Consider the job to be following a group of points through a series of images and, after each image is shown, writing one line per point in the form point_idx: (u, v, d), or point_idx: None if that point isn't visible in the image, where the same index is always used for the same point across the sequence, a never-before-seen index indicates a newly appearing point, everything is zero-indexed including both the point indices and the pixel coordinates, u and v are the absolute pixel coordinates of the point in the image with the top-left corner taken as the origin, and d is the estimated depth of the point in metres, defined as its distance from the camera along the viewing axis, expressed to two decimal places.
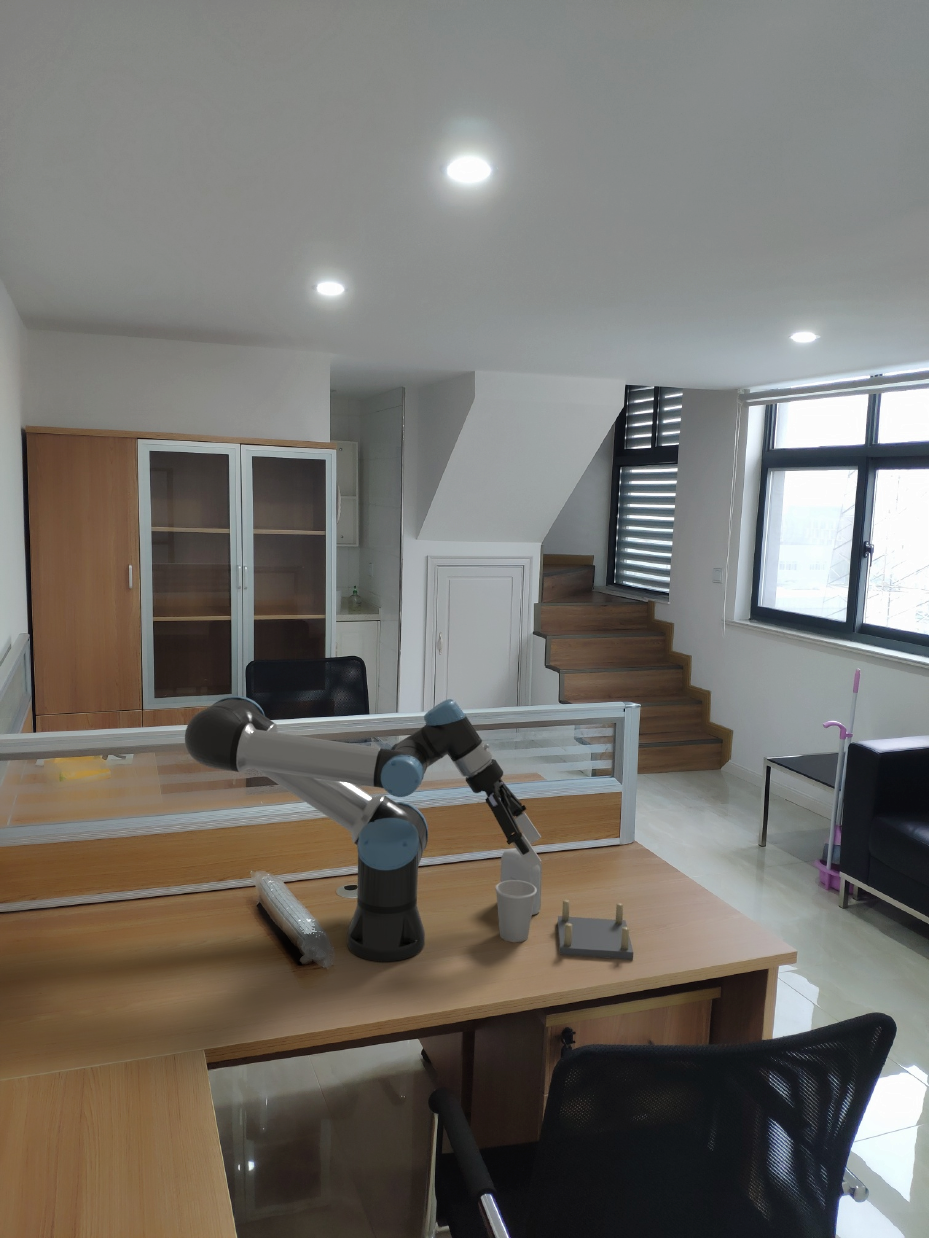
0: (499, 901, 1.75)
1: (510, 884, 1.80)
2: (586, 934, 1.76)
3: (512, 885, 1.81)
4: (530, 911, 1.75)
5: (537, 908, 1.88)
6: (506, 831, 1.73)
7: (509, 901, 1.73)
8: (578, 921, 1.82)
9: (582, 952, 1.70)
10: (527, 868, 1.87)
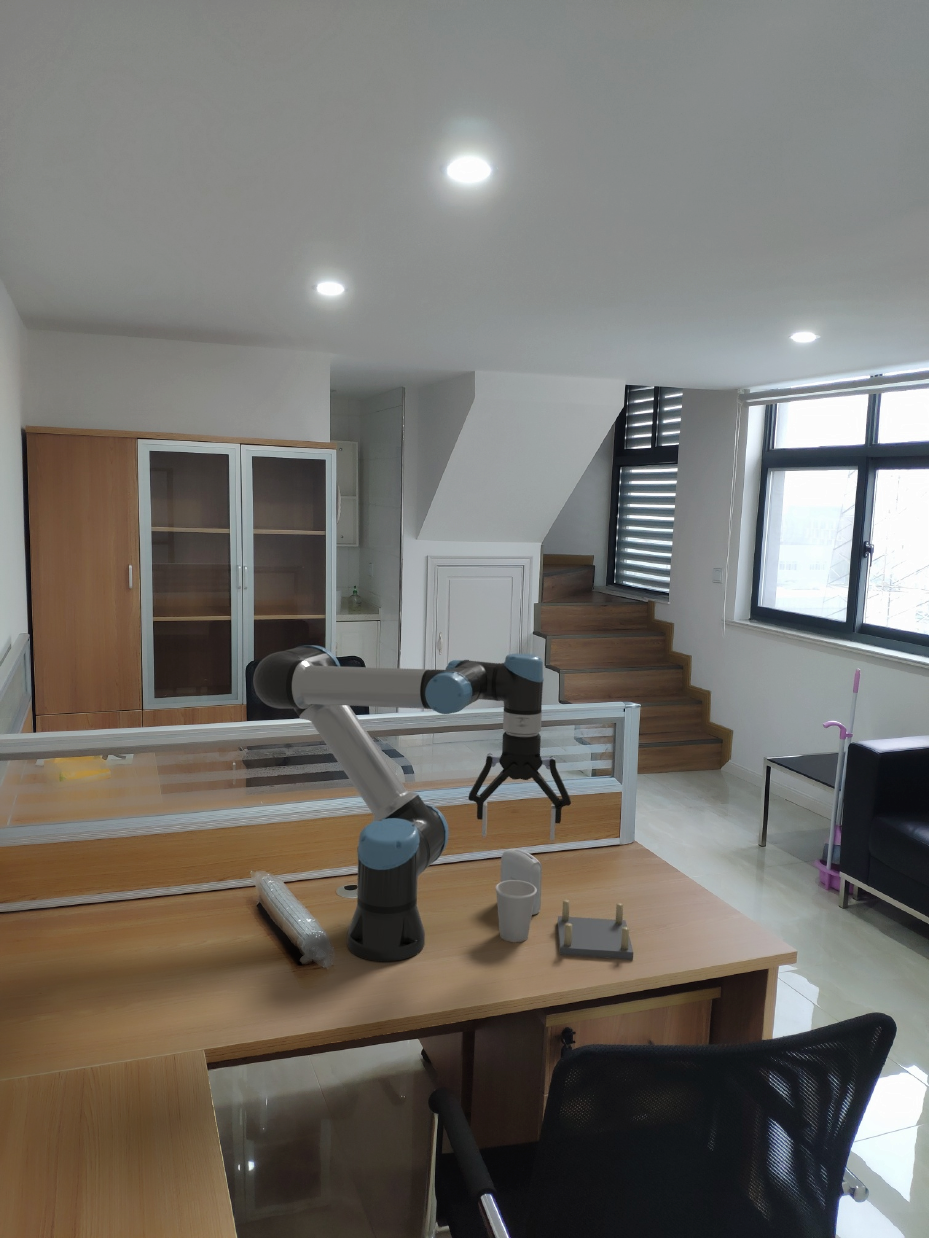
0: (499, 901, 1.75)
1: (510, 884, 1.80)
2: (586, 934, 1.76)
3: (512, 885, 1.81)
4: (530, 911, 1.75)
5: (537, 908, 1.88)
6: (473, 787, 1.76)
7: (509, 901, 1.73)
8: (578, 921, 1.82)
9: (582, 952, 1.70)
10: (527, 868, 1.87)
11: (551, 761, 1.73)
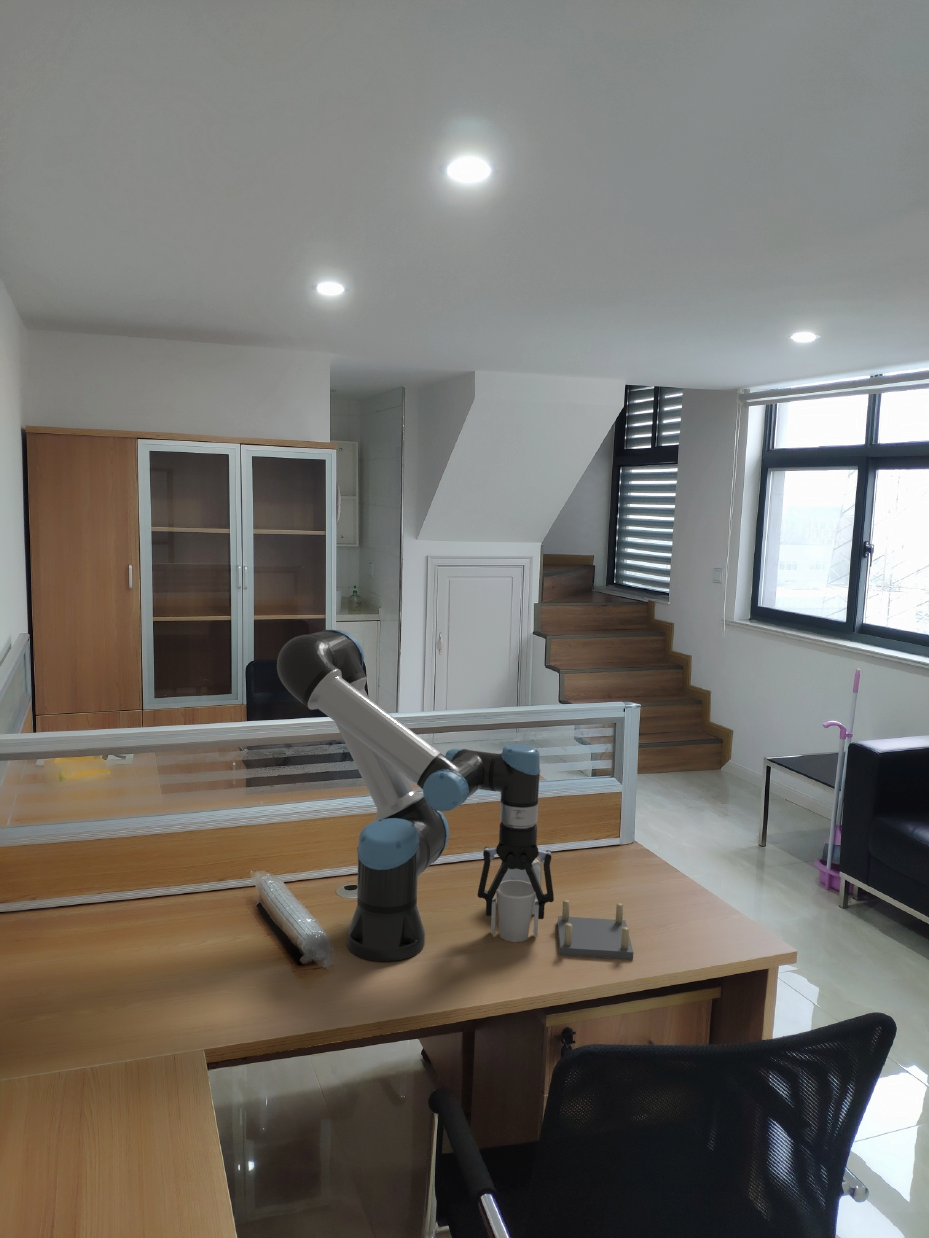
0: (499, 901, 1.75)
1: (510, 884, 1.80)
2: (586, 934, 1.76)
3: (512, 884, 1.81)
4: (530, 911, 1.75)
5: None
6: None
7: (509, 901, 1.73)
8: (578, 921, 1.82)
9: (582, 952, 1.70)
10: None
11: (547, 856, 1.75)
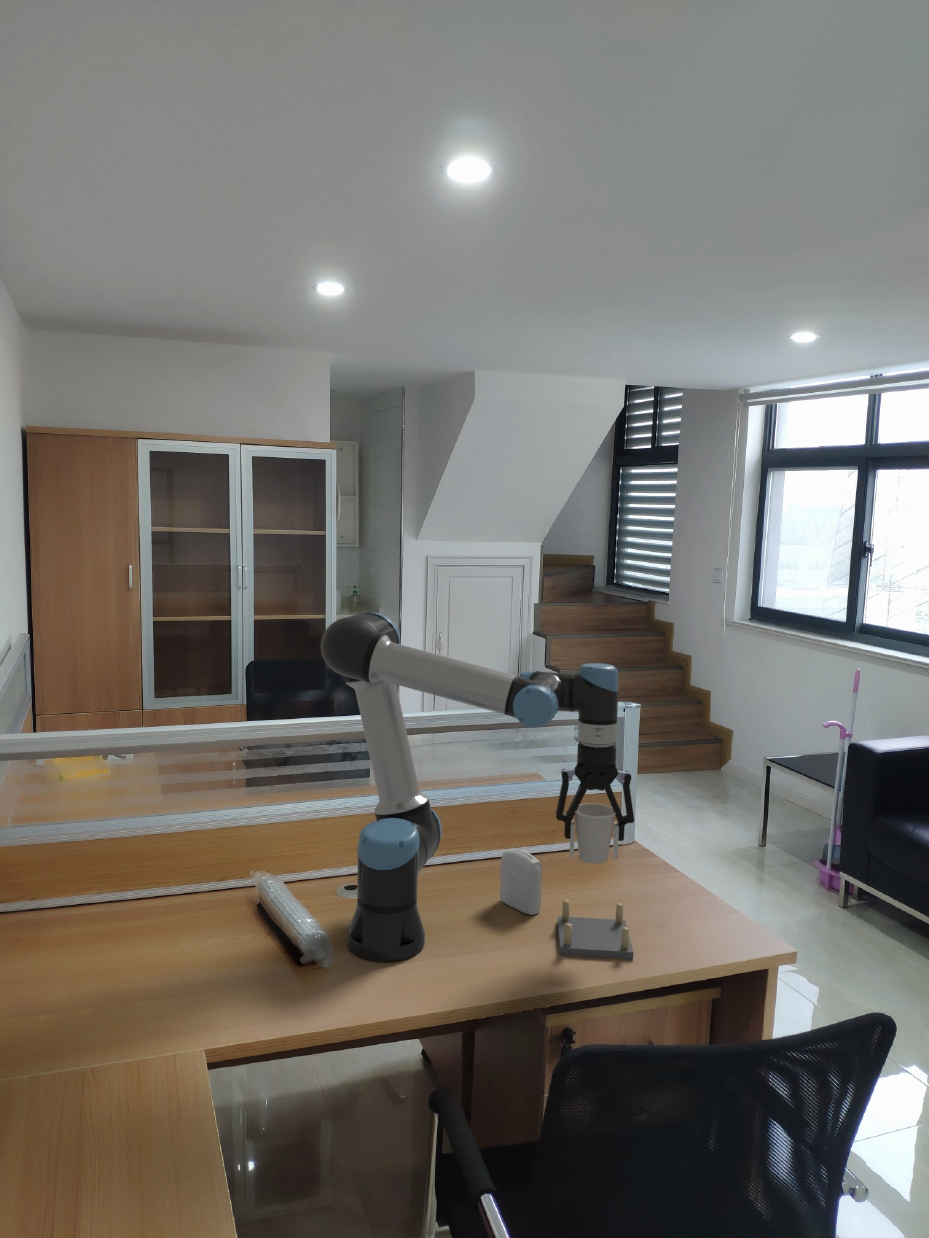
0: (578, 822, 1.72)
1: (587, 807, 1.78)
2: (586, 934, 1.76)
3: (589, 808, 1.78)
4: (610, 832, 1.72)
5: (537, 908, 1.88)
6: (557, 806, 1.75)
7: (589, 821, 1.71)
8: (578, 921, 1.82)
9: (582, 952, 1.70)
10: (527, 868, 1.87)
11: (627, 776, 1.72)
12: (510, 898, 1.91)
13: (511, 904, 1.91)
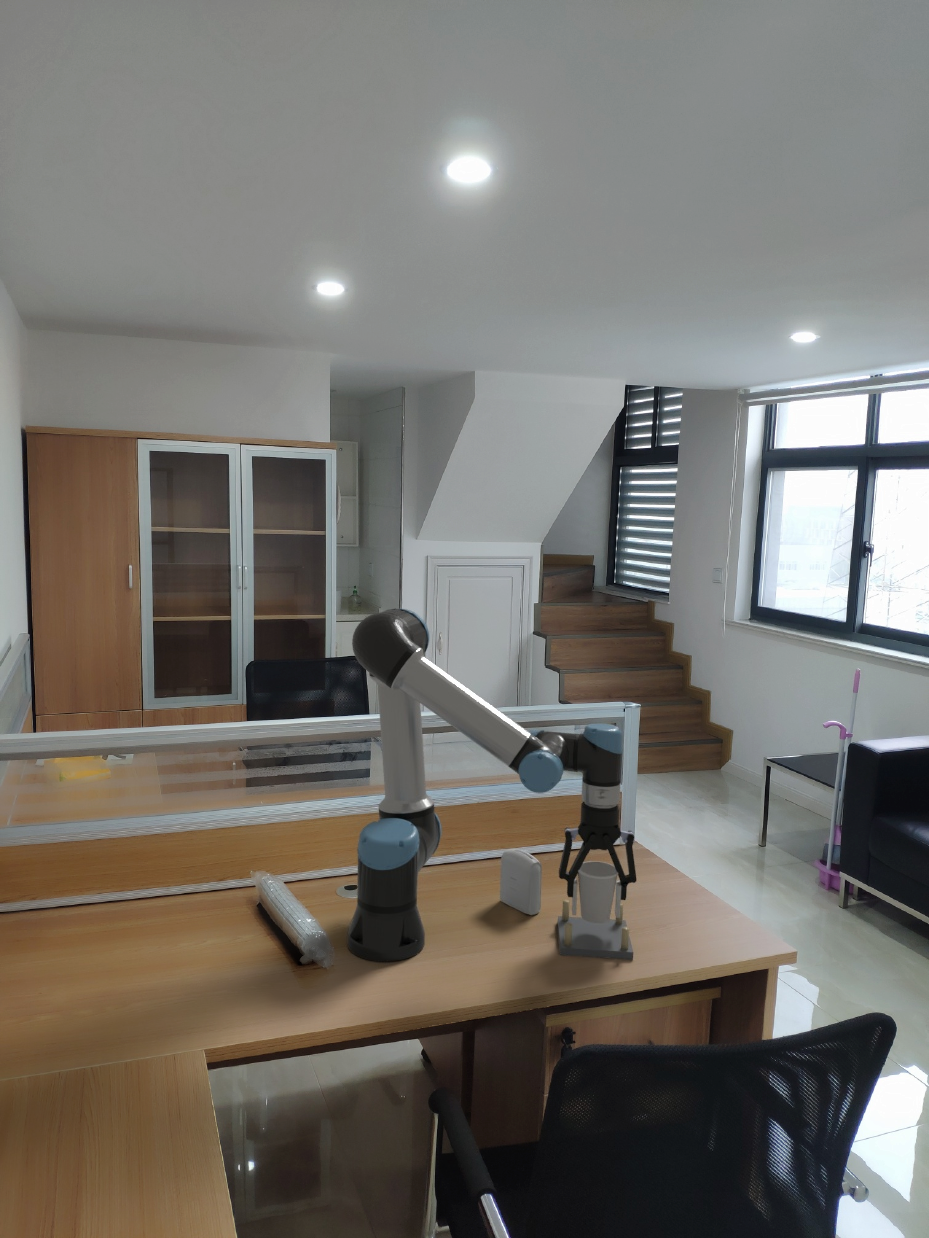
0: (581, 882, 1.74)
1: (590, 865, 1.79)
2: (586, 934, 1.76)
3: (592, 866, 1.79)
4: (613, 892, 1.74)
5: (537, 908, 1.88)
6: (560, 864, 1.76)
7: (592, 881, 1.72)
8: (578, 921, 1.82)
9: (582, 952, 1.70)
10: (527, 868, 1.87)
11: (630, 836, 1.73)
12: (510, 898, 1.91)
13: (511, 904, 1.91)
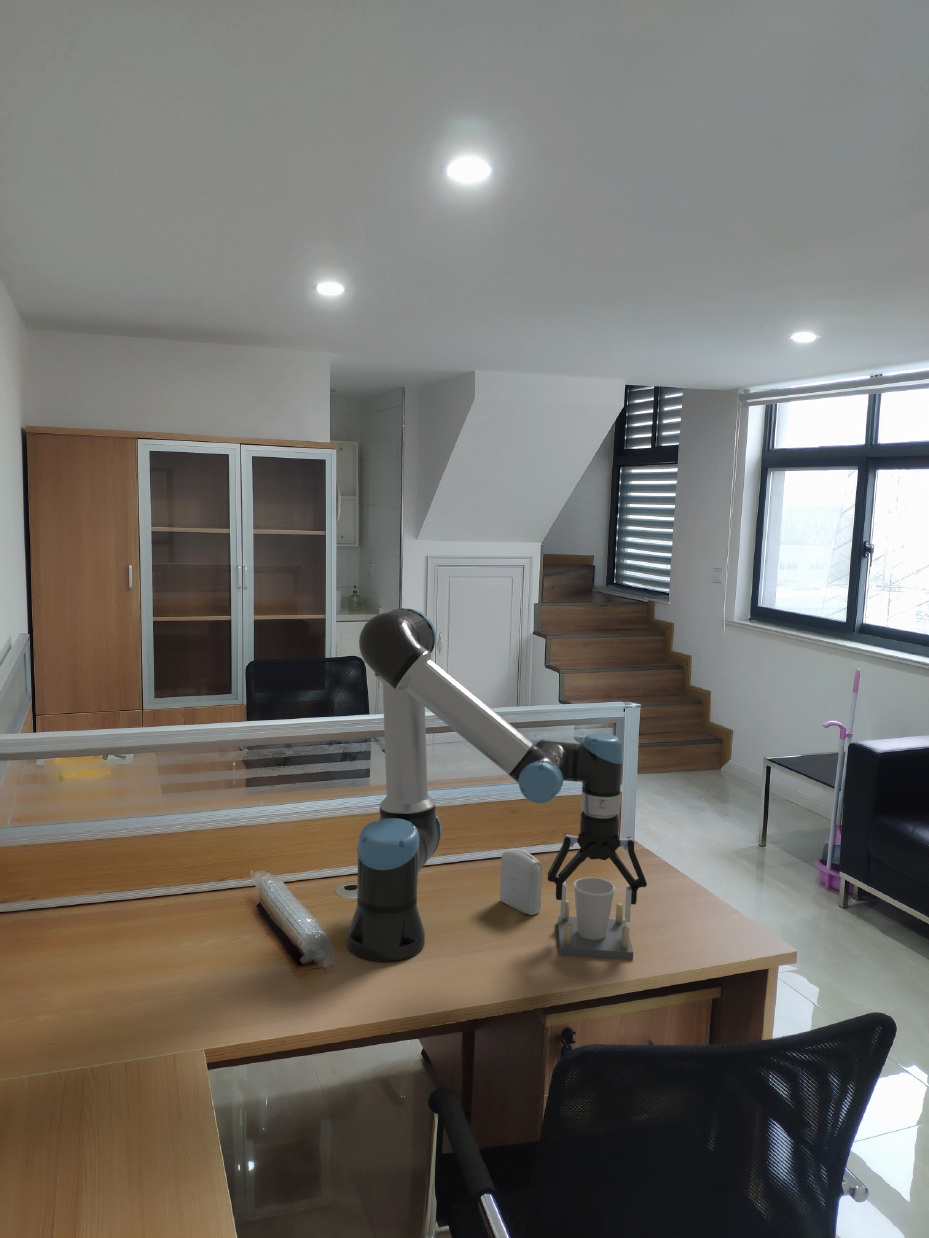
0: (578, 899, 1.74)
1: (586, 881, 1.79)
2: None
3: (588, 882, 1.79)
4: (609, 908, 1.74)
5: (537, 908, 1.88)
6: (551, 867, 1.76)
7: (589, 899, 1.72)
8: None
9: (582, 952, 1.70)
10: (527, 868, 1.87)
11: (630, 842, 1.73)
12: (510, 898, 1.91)
13: (511, 904, 1.91)
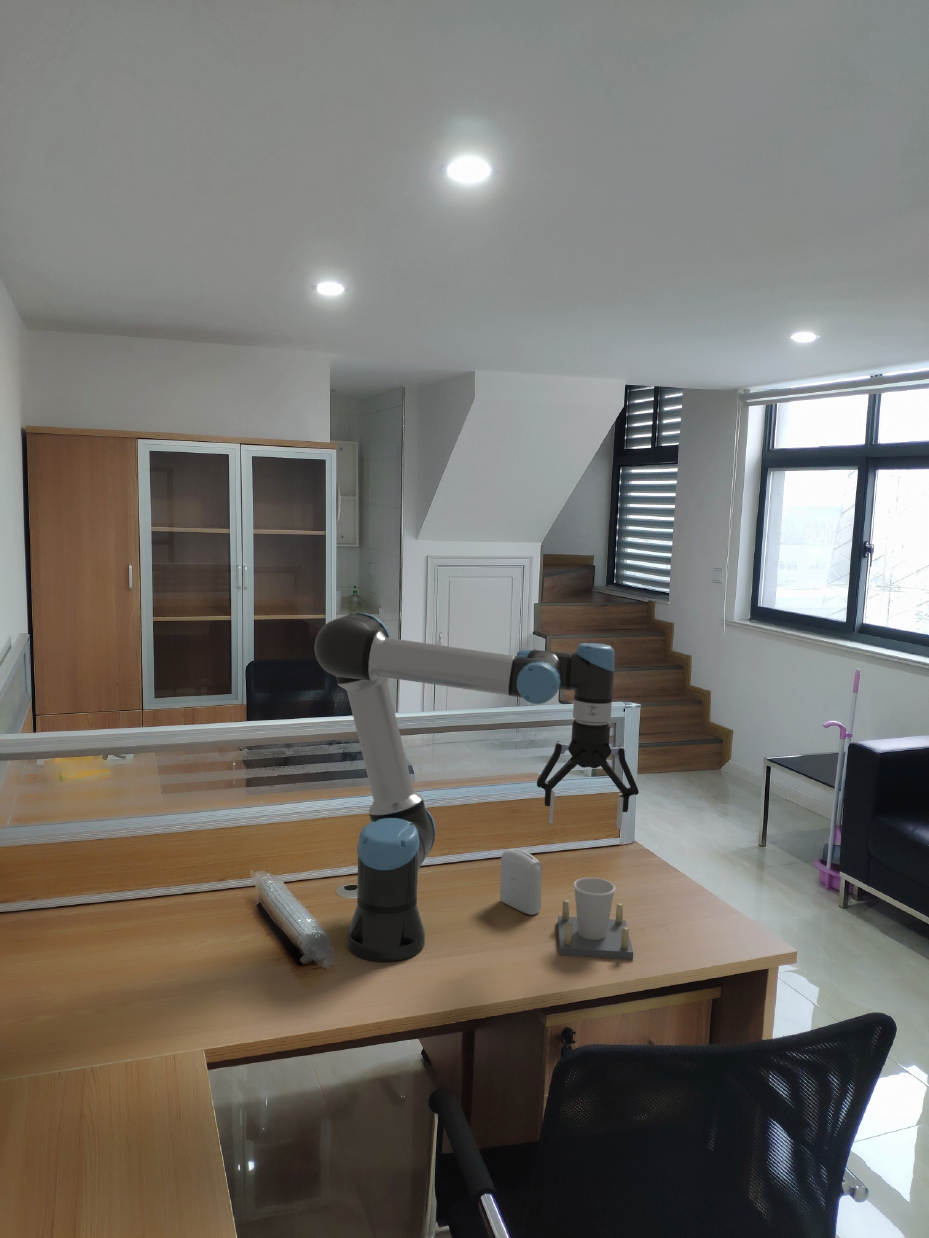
0: (578, 899, 1.74)
1: (586, 881, 1.79)
2: None
3: (588, 882, 1.79)
4: (609, 908, 1.74)
5: (537, 908, 1.88)
6: (541, 774, 1.78)
7: (589, 899, 1.72)
8: None
9: (582, 952, 1.70)
10: (527, 868, 1.87)
11: (620, 750, 1.74)
12: (510, 898, 1.91)
13: (511, 904, 1.91)
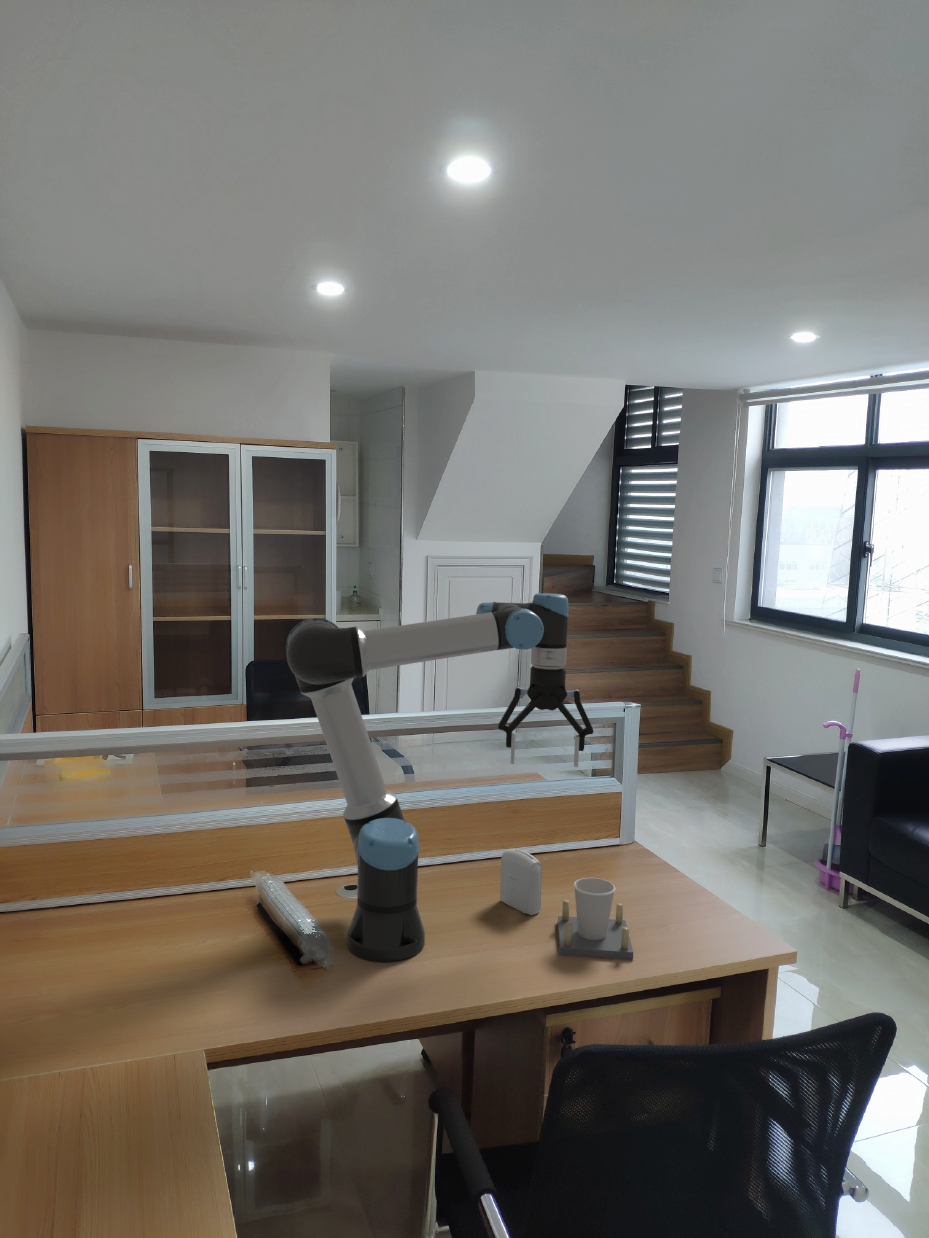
0: (578, 899, 1.74)
1: (586, 882, 1.79)
2: None
3: (588, 882, 1.79)
4: (610, 908, 1.74)
5: (537, 908, 1.88)
6: (502, 717, 1.89)
7: (590, 899, 1.72)
8: None
9: (582, 952, 1.70)
10: (527, 868, 1.87)
11: (575, 692, 1.86)
12: (510, 898, 1.91)
13: (511, 904, 1.91)
